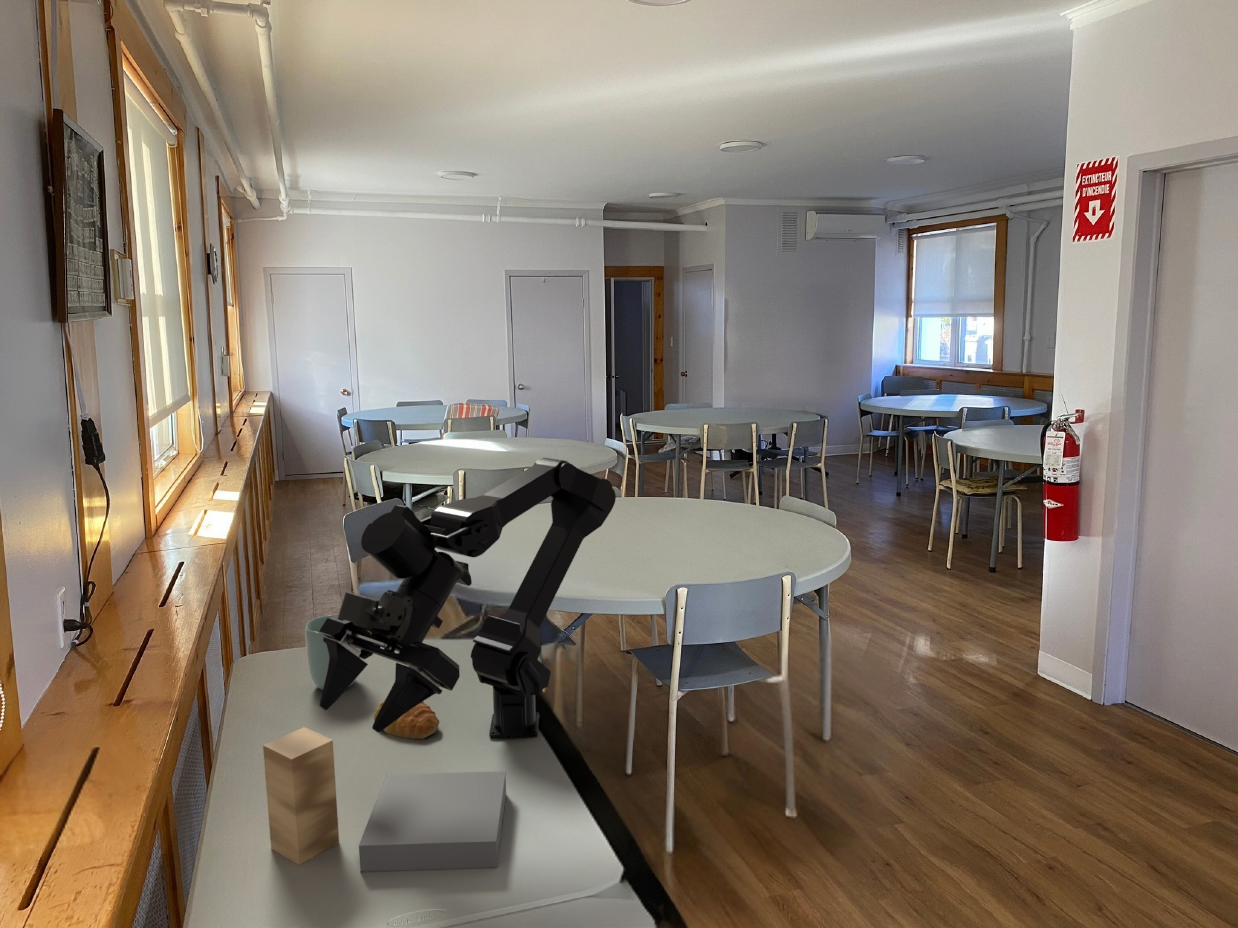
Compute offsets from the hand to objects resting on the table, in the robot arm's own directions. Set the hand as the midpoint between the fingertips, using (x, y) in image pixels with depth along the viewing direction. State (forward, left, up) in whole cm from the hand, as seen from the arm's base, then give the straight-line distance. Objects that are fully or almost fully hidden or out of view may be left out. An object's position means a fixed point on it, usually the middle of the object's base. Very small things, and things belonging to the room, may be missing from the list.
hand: (348, 718), depth 101 cm
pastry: (-23, +2, -12) cm, 26 cm away
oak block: (+5, -4, -12) cm, 14 cm away
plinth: (+3, +10, -12) cm, 16 cm away
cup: (-36, -11, -12) cm, 40 cm away
